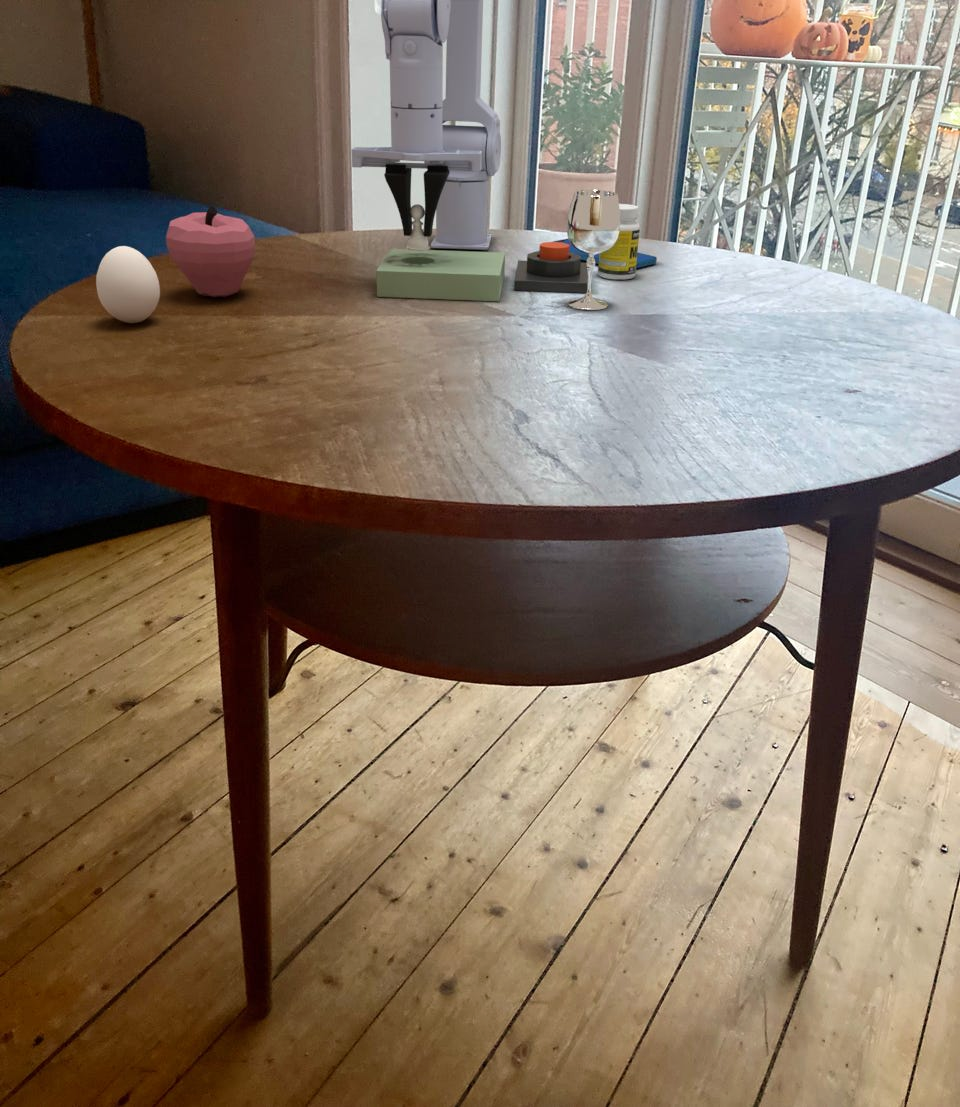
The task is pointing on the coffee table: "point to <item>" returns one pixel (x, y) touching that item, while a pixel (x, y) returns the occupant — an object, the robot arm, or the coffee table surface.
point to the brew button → (554, 251)
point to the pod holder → (441, 275)
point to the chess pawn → (417, 230)
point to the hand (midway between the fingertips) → (417, 234)
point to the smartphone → (641, 258)
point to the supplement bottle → (622, 247)
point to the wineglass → (592, 233)
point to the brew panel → (551, 274)
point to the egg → (127, 285)
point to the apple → (211, 251)
